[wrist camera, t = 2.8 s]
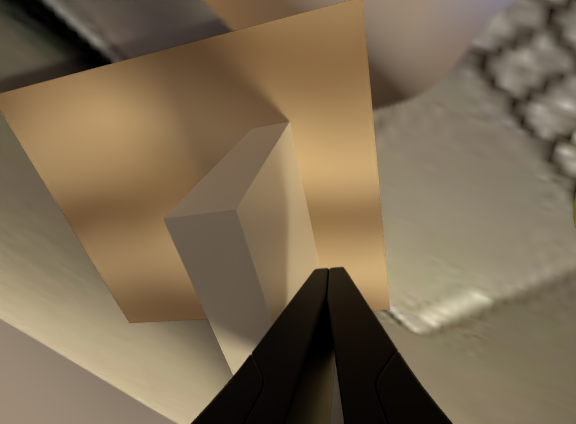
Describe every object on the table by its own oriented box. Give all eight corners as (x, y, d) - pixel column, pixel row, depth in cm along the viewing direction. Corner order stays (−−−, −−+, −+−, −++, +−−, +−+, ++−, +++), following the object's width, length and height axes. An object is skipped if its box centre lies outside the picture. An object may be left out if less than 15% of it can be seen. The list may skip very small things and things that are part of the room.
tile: (318, 261, 16) (304, 419, 9) (287, 264, 16) (250, 418, 9) (289, 121, 13) (236, 209, 6) (250, 128, 13) (160, 218, 6)
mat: (388, 301, 17) (390, 309, 16) (134, 315, 20) (129, 323, 20) (360, -2, 11) (362, -4, 10) (3, 93, 14) (-9, 95, 14)
